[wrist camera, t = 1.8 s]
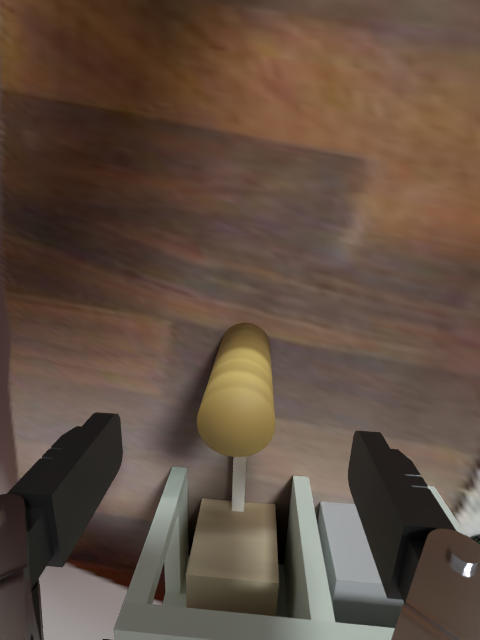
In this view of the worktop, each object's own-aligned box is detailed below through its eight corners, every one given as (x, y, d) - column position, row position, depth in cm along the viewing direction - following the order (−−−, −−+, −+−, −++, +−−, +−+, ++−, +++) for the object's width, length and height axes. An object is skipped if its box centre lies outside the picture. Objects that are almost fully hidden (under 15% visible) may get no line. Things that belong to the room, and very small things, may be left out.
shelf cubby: (172, 466, 22) (113, 629, 13) (434, 486, 21) (556, 675, 12) (175, 564, 24) (128, 754, 16) (407, 586, 23) (491, 798, 15)
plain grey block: (320, 500, 22) (336, 579, 17) (396, 506, 22) (434, 588, 17) (312, 555, 23) (325, 641, 18) (383, 561, 23) (415, 650, 18)
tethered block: (202, 320, 18) (165, 384, 11) (291, 325, 18) (310, 394, 11) (202, 552, 24) (176, 695, 17) (270, 558, 23) (274, 706, 16)
